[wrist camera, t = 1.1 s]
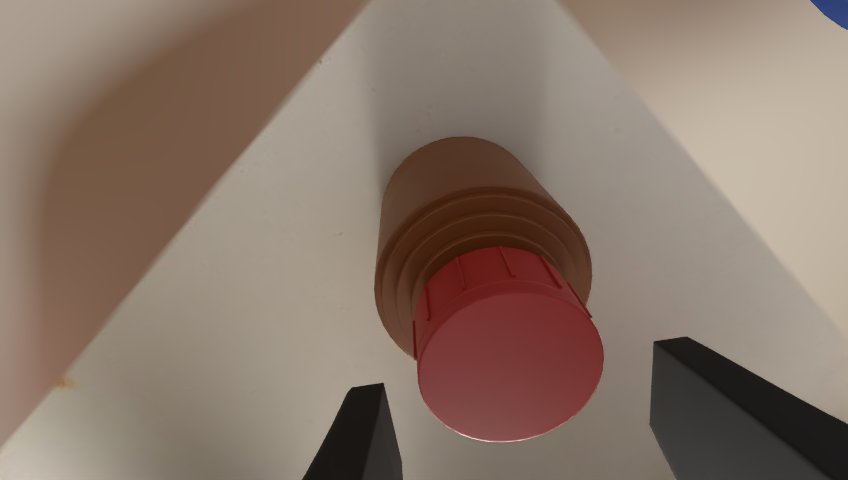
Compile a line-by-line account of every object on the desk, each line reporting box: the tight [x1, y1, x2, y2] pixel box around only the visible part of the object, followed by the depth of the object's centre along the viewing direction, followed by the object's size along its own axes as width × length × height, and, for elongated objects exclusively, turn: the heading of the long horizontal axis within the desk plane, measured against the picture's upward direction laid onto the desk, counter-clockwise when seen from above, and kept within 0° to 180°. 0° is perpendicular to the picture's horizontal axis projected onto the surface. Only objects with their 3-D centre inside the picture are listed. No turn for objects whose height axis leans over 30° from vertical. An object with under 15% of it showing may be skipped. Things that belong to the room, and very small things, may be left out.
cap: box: [412, 246, 604, 442], centre depth 11 cm, size 4×4×2 cm
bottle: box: [374, 137, 592, 361], centre depth 15 cm, size 6×6×9 cm
